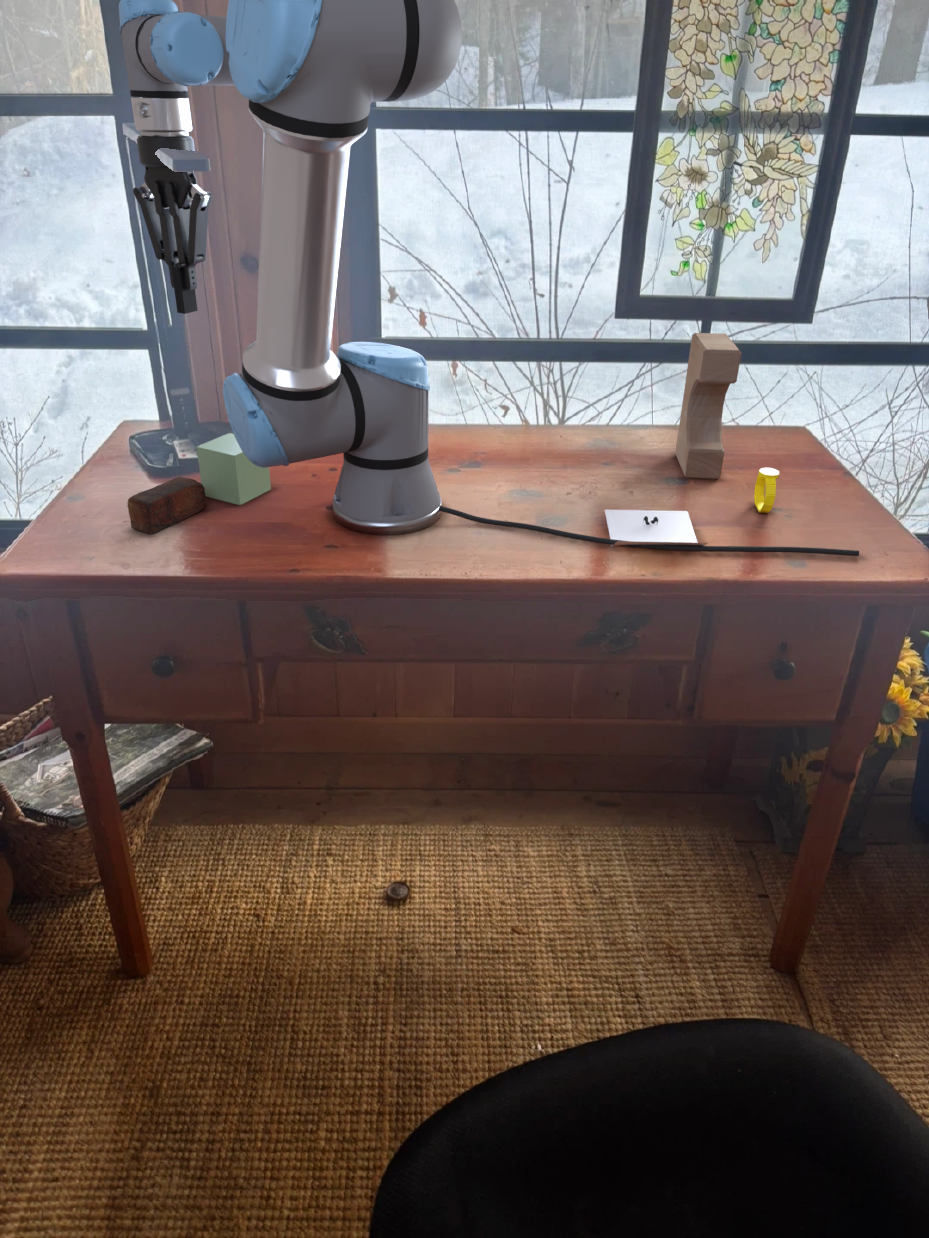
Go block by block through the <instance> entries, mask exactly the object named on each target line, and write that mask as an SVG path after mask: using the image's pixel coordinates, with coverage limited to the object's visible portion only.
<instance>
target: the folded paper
mask: <svg viewBox="0 0 929 1238" xmlns="http://www.w3.org/2000/svg"><path fill="white" fill-rule="evenodd" d="M604 515H605V518H606V519H605V520H606V523H607V530H608V533H609V534H608V535H609V539H614V540H622V541H617V542H616V543H615V544H614V545H611V547H618V546H617V545H693V546H706V545H707V544H708V542H698V539H697V536H696V534H695V530H694V527H693V524H692V521H691V517H690V514H689V511H688V510H648V509H647V510H646V509H645V510H644V509H604Z"/></svg>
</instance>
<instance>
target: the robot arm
mask: <svg viewBox="0 0 929 1238" xmlns="http://www.w3.org/2000/svg"><path fill="white" fill-rule="evenodd" d="M118 15H119V33H120V36H121V41H122V47H123V54H124V61H125V68H126V74H127V80H128V88H129V95H130V101H131V102H130V103H131V109H132V115H133V121H134V129H135V130H136V131H137V132H140V135H138V136H137V138H136V142H137V143H136V144H137V145H136V146H137V152H138V158H139V163H140V164H141V165H142V166H143V167H144V169H145V170H144V174H143V175H144V176H143V177H144V178H143V179H144V182H143V183H142V184H141V185H140V186H138V187H133V188H132V194H133V195H134V197H135V200H137V202H138V204H139V206H140V210H141V213H142V216H143V219H144V223H145V226H146V230H147V232H148V235H149V238H150V242H151V245H152V249H153V252H154V256H155V257H156V259H157V260H158V261H159V260H161V261H163V262H165V263H166V265H167V266H168V273H169V279H170V285H171V288H172V289H173V291H174V298H175V304H176V305H175V306H176V313H178V314H182V315H187V314H190V313H193V312H194V313H195V312H197V311H198V302H197V294H196V290H197V289H198V279H197V273H196V266H197V265H198V264H200V263H204V262H205V261H206V259H207V258H206V257H207V245H208V244H207V242H208V227H209V226H208V225H209V210H210V207H211V204H212V202H213V199H214V197H213V193H212V192H211V191H204V190H203V189H202V188H201V187H200V186H199V185H198V179H197V176H196V175H195V172H194V171H193V172H174V171H172V170H171V169H169V168H168V167H167V166H165V165H164V164H163V163H162V162H161V161H160V159H159V158H158V157H157V155H155V152H156V151H157V150H158V149H160V148H169V149H176V150H177V149H178V150H188V151H190V150H192V151H195V152H196V150H195V142H194V138H193V137H192V135H189V132H192V131H193V124H192V123H193V122H192V114H191V107H190V106H191V105H190V99H189V92H188V87H189V86H190V87H199V86H234V87H235V88H236V90H237V91H238V92H239V94H240V95H241V96H242V97H243V98H245V99H247V100H248V112H249V114H250V115H251V117H252V118H253V119H254V120H255V122H256V123H257V124H258V125H259V127H260V128H261V129H262V131H263V142H262V143H263V145H262V168H261V169H262V170H261V171H262V172H261V197H260V198H261V199H260V200H261V201H260V225H259V226H260V228H259V253H258V255H259V257H258V258H259V259H258V279H257V280H258V281H257V282H258V283H257V307H256V308H257V311H256V338H255V340H254V341H253V342H252V343H250V344H249V345H247V347H246V348H245V349H244V351H243V352H242V359H241V360H242V361H241V365H242V367H241V373H238V372H237V373H236V372H233V373H232V374H230V375H228V376H226V378H225V379H224V381H223V385H222V395H223V396H222V397H223V403H224V408H225V412H226V416H227V420H228V422H229V426H230V428H231V430H232V434H234V436H235V438H236V440H237V442H238V444H239V446H240V448H241V450H242V452H243V453H244V455H245V456H246V457H247V458H248V460H249V461H250V462H252V463H253V464H254V465H256V466H258V467H264V468H265V467H269V468H273V467H279V466H283V467H288V466H289V465H291V464H295V463H301V462H305V461H311V460H314V459H319V458H324V457H330V456H335V455H340V454H342V455H343V462H342V466H341V470H340V473H339V477H338V480H337V484H336V487H335V490H334V494H333V499H332V515H333V518H334V519H335V521H336V522H337V523H338V524H339V525H341V526H342V527H345V528H347V529H349V530H352V531H355V532H359V533H363V534H371V535H388V536H389V535H401V534H402V535H403V534H408V533H413V532H417V531H421V530H423V529H425V528H428V527H430V526H432V525H434V524H435V523H436V522H437V521H438V520H439V519H440V518H441V516H442V513H445V514H449V515H453V516H456V517H459V518H463V519H466V520H468V521H471V522H476V523H479V524H480V523H481V524H484V525H485V524H486V525H492V526H497V527H498V526H499V527H506V528H507V527H508V528H515V529H522V530H528V531H532V532H533V531H534V532H539V533H544V534H547V535H553V536H557V537H563V538H566V539H572V540H577V541H583V542H589V543H590V542H591V543H595V544H603V545H611V546H612V545H614V544H615V543H616V542H617V541H622V540H614V539H610V538H607V537H606V538H605V537H598V536H593V535H586V534H580V533H575V532H569V531H564V530H559V529H554V528H550V527H545V526H541V525H535V524H530V523H523V522H517V521H508V520H499V519H491V518H486V517H480V516H477V515H472V514H469V513H467V512H463V511H461V510H457V509H454V508H451V507H447V506H443V505H442V497H441V494H440V491H439V489H438V486H437V482H436V480H435V477H434V474H433V470H432V467H431V464H430V459H429V395H430V394H429V391H430V390H431V386H430V381H429V369H428V362H427V359H425V357H424V356H423V355H422V354H420V353H419V352H417V351H415V350H413V349H410V348H407V347H403V346H399V345H396V344H395V345H394V344H390V343H383V342H373V341H371V342H370V341H350V342H345V343H343V344H340V345H339V346H338V349H337V352H336V354H335V353H334V352H333V351H332V350H331V345H332V336H333V334H332V333H333V325H334V317H335V316H334V314H335V305H336V304H335V303H336V294H337V285H338V274H339V273H338V272H339V265H340V254H341V245H342V235H343V225H344V216H345V215H344V214H345V206H346V205H345V204H346V196H347V195H346V194H347V186H348V185H347V184H348V175H349V166H350V165H349V164H350V156H351V155H350V154H351V146H352V145H353V144H354V143H355V142H357V141H358V140H359V139H360V138H362V137H363V136H364V135H366V133H367V132H368V128H369V119H370V112H371V104H372V103H381V102H382V103H383V102H384V103H391V102H407V101H412V100H417V99H420V98H422V97H425V96H428V95H430V94H431V93H434V92H435V91H436V90H438V89H439V88H440V87H442V86H443V84H444V83H445V82H446V81H447V80H448V79H449V78H450V76H451V75H452V73H453V71H454V70H455V68H456V66H457V63H458V61H459V58H460V55H461V48H462V44H463V42H462V41H463V28H462V20H461V16H460V12H459V8H458V6H457V4H456V2H455V0H228V4H227V12H226V16H224V15H212V14H211V15H209V14H197V13H194V12H192V11H179V8H178V6H177V4H176V2H174V0H119V3H118ZM616 547H625V548H626V547H629V548H636V549H649V550H662V551H679V552H681V551H682V552H712V553H713V552H715V553H716V552H717V553H719V552H720V553H721V552H722V553H794V554H795V553H796V554H797V553H798V554H820V555H833V556H849V557H859V556H860V550H857V549H855V550H854V549H840V548H839V549H838V548H825V547H807V546H806V547H805V546H757V545H756V546H754V545H753V546H752V545H751V546H746V545H742V546H741V545H703V546H693V545H617V546H616Z"/></svg>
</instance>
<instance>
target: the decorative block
mask: <svg viewBox="0 0 929 1238" xmlns="http://www.w3.org/2000/svg"><path fill="white" fill-rule="evenodd" d="M741 359H742V351H740V349H739V348H738V346H737V345H736V344H735V342H733V340H732V339H731V338H730V337H729V335H727V334H726V333H716V332H715V333H714V332H713V333H712V332H694V333H693V334H692V335H691V340H690V348H689V354H688V362H687V368H686V375H685V382H684V388H683V389H684V390H683V396H682V405H681V409H680V417H679V424H678V432H677V439H676V445H675V453H674V454H675V456H676V459H677V461H678V463H679V465H680V466H679V467H680V468H681V471H682V473H683V475H684V477H685V478H686V479H697V480H698V479H699V480H718V479H719V480H720V478H721V474H722V470H723V463H724V458H725V448H724V446H723V435H722V433H723V432H722V430H723V427H722V424H723V423H722V422H723V419H722V418H723V414H724V413H723V412H724V404H725V400H726V396H727V395H726V394H727V393H728V390H729V388H730V385H731V384H732V385H735V383H737V382H738V375H739V371H740V365H741Z"/></svg>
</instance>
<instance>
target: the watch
mask: <svg viewBox="0 0 929 1238" xmlns="http://www.w3.org/2000/svg"><path fill="white" fill-rule="evenodd" d="M779 477H780V471H779V470H777V469H776V468H773V467H762V468H759V470H758V475H757V477H756V480H755V486H754V492H753V499H754V500H753V502H754V505H755V507H756V510H757V511H758V513H760V514H769V512H771V511H772V510H773V507H774V506H775V505H774V504H775V500H776V495H777V480H776V479H778V478H779Z"/></svg>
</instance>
